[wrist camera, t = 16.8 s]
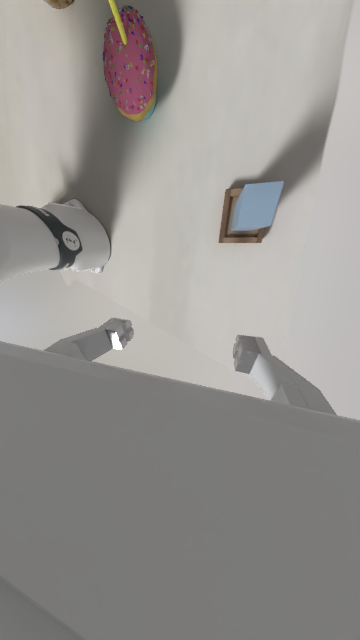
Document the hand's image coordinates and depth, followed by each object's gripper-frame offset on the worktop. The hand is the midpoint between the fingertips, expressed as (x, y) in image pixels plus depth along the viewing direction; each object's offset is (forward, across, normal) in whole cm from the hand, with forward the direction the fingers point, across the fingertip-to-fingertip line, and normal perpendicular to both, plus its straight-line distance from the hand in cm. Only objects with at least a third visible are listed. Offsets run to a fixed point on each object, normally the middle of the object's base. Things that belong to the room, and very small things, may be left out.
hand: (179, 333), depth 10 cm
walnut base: (+31, -7, -10) cm, 33 cm away
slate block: (+30, -7, -10) cm, 32 cm away
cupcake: (+31, +14, -28) cm, 44 cm away
